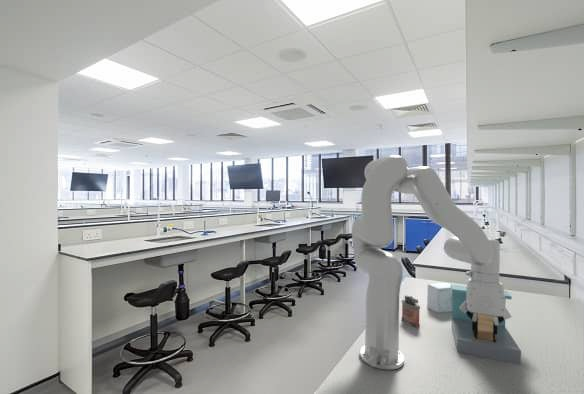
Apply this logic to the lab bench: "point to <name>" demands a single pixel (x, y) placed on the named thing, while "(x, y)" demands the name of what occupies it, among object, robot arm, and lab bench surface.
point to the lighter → (410, 311)
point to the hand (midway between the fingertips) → (484, 333)
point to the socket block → (467, 341)
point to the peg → (485, 327)
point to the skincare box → (439, 297)
